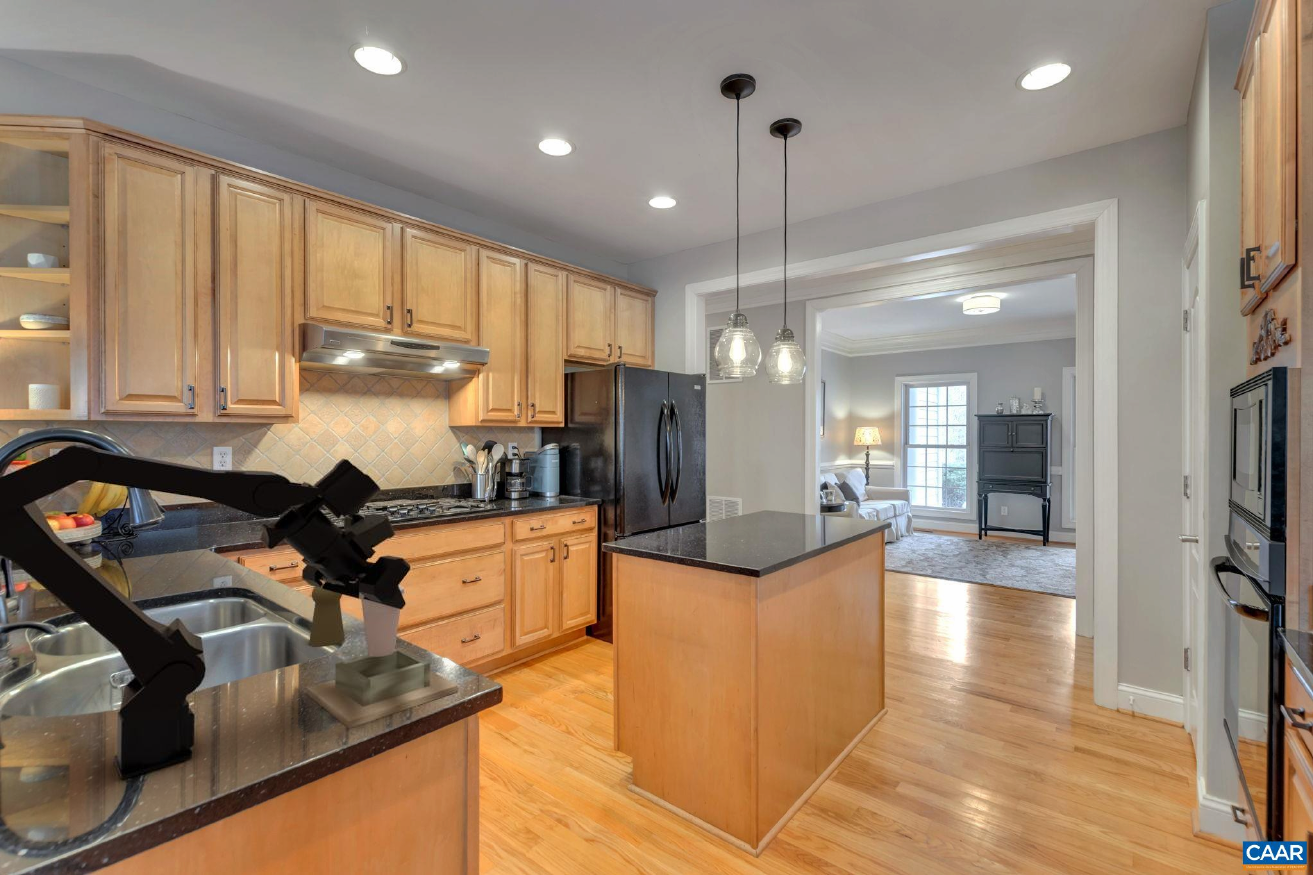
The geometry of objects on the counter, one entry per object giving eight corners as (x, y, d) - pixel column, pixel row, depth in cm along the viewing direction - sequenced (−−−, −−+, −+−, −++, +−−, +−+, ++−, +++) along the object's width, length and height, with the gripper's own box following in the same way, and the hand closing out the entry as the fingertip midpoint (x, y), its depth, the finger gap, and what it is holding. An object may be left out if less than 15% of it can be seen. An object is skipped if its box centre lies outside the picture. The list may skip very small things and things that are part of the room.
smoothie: (348, 657, 90) (348, 563, 90) (380, 644, 96) (380, 556, 96) (383, 661, 88) (383, 565, 88) (413, 647, 94) (413, 558, 94)
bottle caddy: (349, 728, 80) (349, 694, 80) (306, 693, 91) (306, 664, 91) (458, 691, 92) (458, 662, 92) (409, 664, 103) (409, 638, 103)
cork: (333, 647, 111) (334, 587, 111) (301, 646, 112) (302, 587, 112) (351, 636, 117) (351, 580, 117) (320, 635, 118) (321, 579, 118)
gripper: (400, 502, 84) (460, 567, 93) (323, 494, 94) (385, 554, 103) (344, 567, 77) (416, 631, 87) (268, 552, 87) (340, 611, 96)
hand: (389, 603), depth 93 cm, fingers closed on smoothie, 6 cm apart
